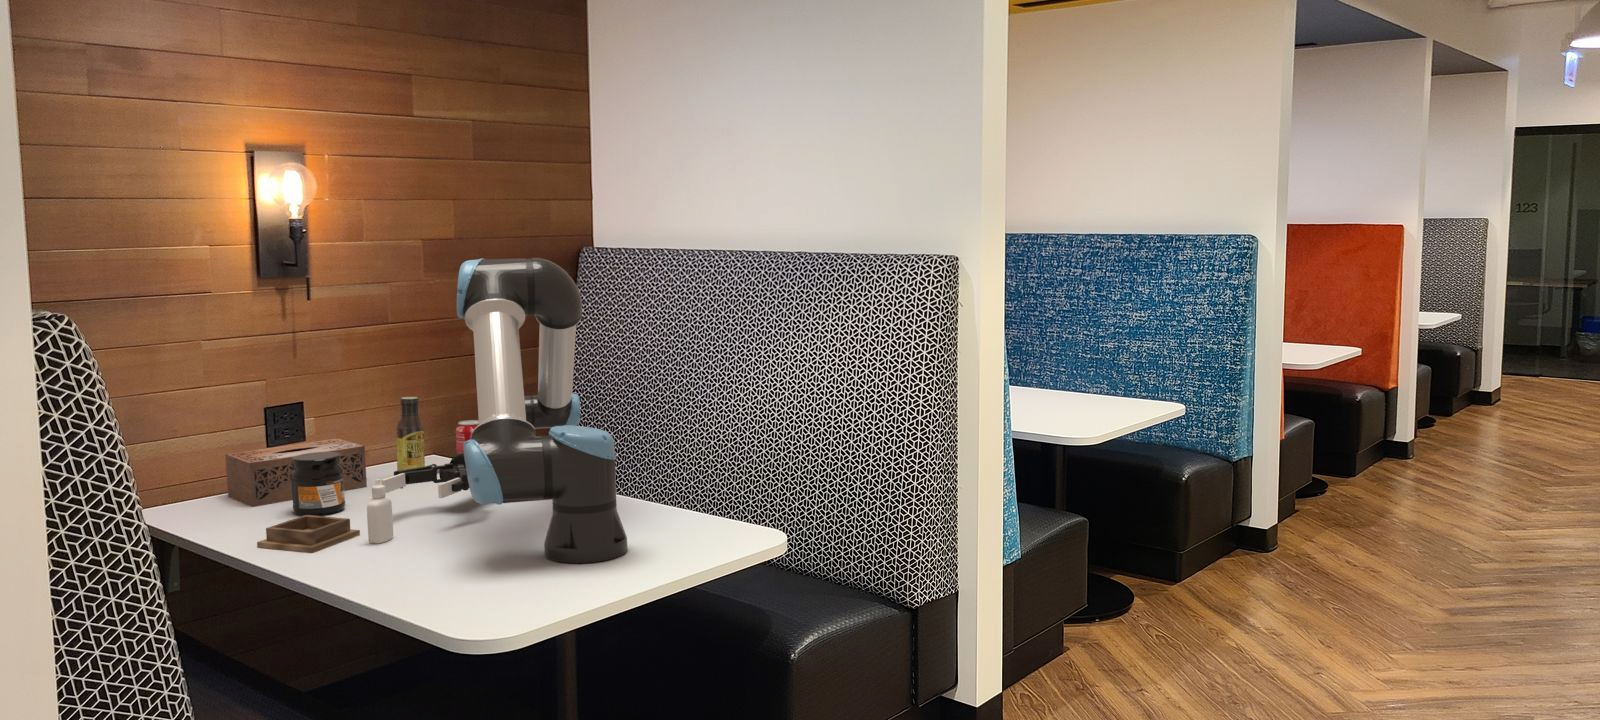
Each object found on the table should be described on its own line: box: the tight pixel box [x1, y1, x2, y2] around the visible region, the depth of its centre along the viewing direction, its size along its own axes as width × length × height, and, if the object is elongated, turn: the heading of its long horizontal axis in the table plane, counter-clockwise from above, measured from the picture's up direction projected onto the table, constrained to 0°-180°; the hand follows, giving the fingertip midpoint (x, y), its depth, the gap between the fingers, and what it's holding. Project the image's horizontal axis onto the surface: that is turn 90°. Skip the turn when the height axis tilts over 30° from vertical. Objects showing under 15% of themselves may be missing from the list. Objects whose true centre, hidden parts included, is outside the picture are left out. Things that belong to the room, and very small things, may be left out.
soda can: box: [455, 419, 479, 455], centre depth 291 cm, size 7×7×12 cm
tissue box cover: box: [225, 438, 368, 508], centre depth 269 cm, size 26×14×10 cm, turn 135°
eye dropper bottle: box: [366, 478, 394, 544], centre depth 227 cm, size 4×6×12 cm
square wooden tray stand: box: [256, 515, 361, 554], centre depth 227 cm, size 13×13×4 cm
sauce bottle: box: [396, 396, 426, 471], centre depth 279 cm, size 7×6×20 cm
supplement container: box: [290, 452, 346, 516], centre depth 251 cm, size 10×10×12 cm
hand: (411, 489), depth 236 cm, fingers open, 13 cm apart
